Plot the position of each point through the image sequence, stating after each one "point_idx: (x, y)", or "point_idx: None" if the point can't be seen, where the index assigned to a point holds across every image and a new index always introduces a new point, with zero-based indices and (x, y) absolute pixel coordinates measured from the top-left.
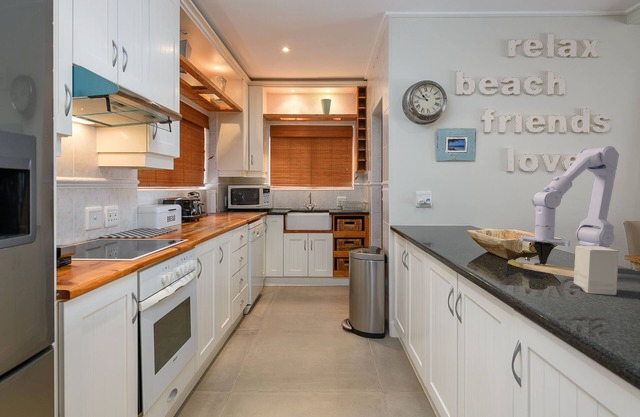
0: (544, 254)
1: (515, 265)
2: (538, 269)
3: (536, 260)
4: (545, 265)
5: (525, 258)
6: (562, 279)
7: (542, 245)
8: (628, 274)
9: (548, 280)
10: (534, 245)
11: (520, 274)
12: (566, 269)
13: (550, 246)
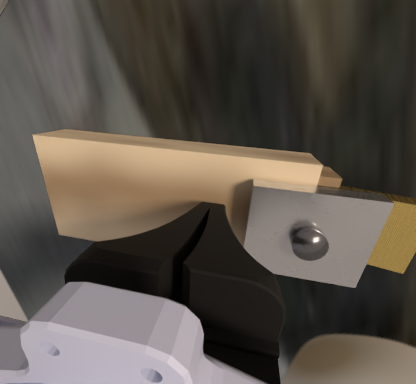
0: (178, 227)
1: (366, 191)
2: (225, 151)
3: (251, 244)
4: None
5: (322, 234)
6: (113, 104)
7: (152, 267)
8: None
9: (147, 6)
10: (264, 280)
11: (314, 35)
12: (100, 186)
13: (71, 267)
